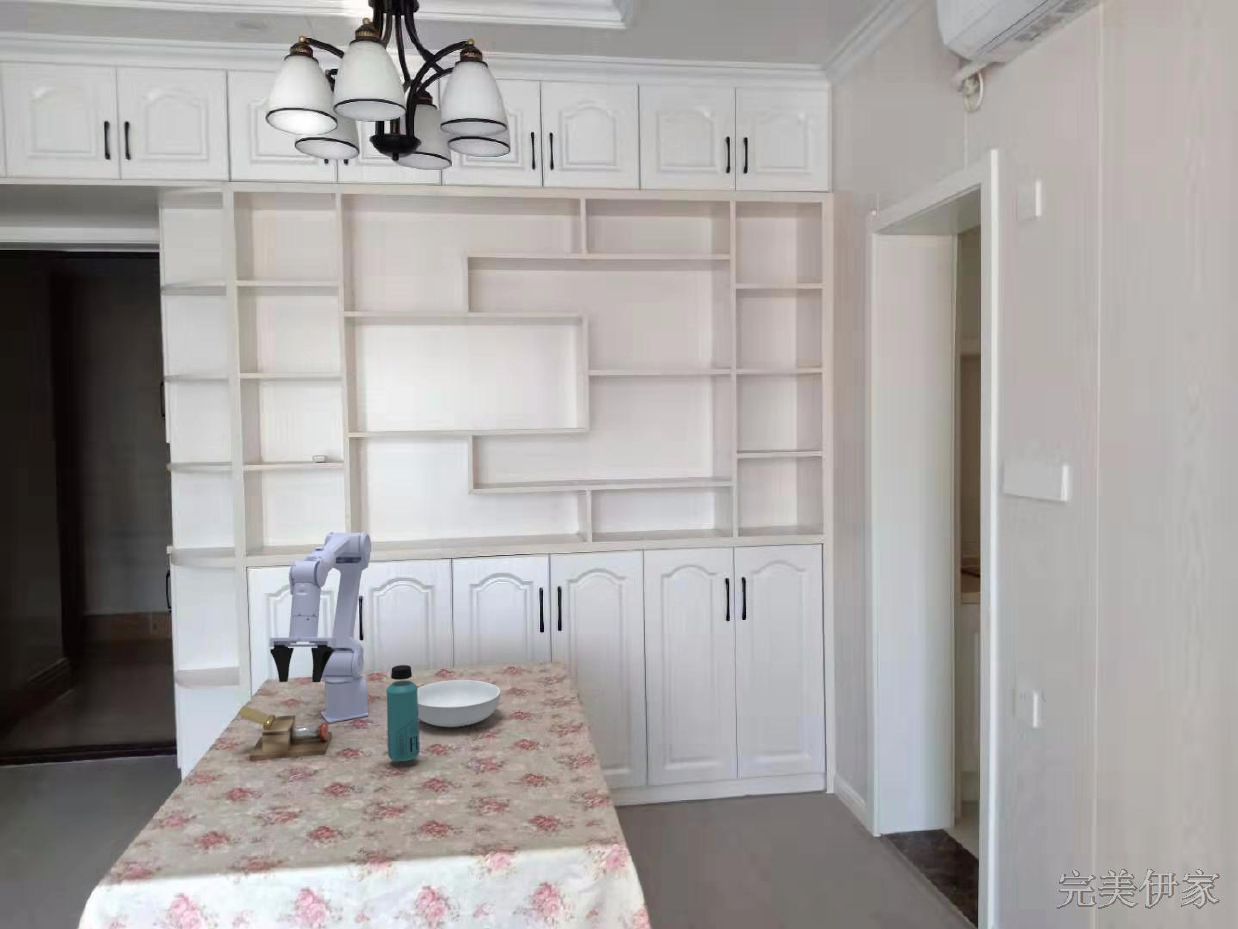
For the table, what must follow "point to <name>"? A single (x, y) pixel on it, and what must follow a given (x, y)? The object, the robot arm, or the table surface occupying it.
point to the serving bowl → (457, 702)
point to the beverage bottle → (402, 716)
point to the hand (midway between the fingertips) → (299, 682)
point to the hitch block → (285, 741)
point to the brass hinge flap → (255, 715)
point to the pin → (309, 732)
